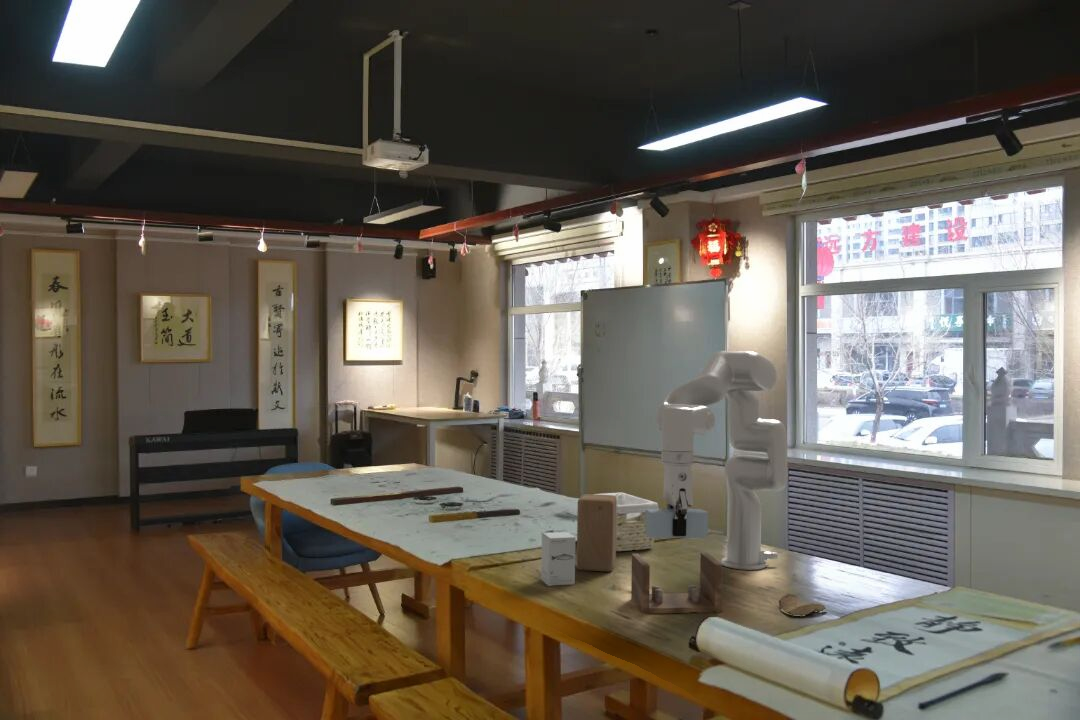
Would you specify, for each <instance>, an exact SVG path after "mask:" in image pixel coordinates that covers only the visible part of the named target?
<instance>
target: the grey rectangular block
mask: <svg viewBox="0 0 1080 720" xmlns="http://www.w3.org/2000/svg"><path fill="white" fill-rule="evenodd" d="M678 510H679V509H677V512H678ZM686 515H687V519H686V536H673V535H672V530H673V519H674V509H667V508H658V509H646V530H645V534H646V535H647V536H649V537H650V538H655V539H678V538H679V539H685V538H688V539H689V538H690V539H695V538H696V539H699V538H701V539H702V538H705V539H706V538H707V539H708V538H709V512H708V511H707V510H705V509H703V508H687V513H686Z"/></svg>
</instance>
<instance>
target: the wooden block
mask: <svg viewBox="0 0 1080 720" xmlns="http://www.w3.org/2000/svg"><path fill="white" fill-rule="evenodd" d="M595 494H596V493H595ZM595 494H591V493H590V494H589V493H585V494H582V496H580V497H579V498H578V500H577V512H576V513H577V515H576V516H577V518H576V519H577V524H576V526H577V527H576V533H577V534H576V539H577V540H576V569H578V570H579V571H590V572H606V573H609V572H612V571H613V568H614V567H615V565H616V562H617V551H616V506H617V499H616V496H614V495H595Z"/></svg>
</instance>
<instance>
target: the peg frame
mask: <svg viewBox="0 0 1080 720" xmlns="http://www.w3.org/2000/svg"><path fill="white" fill-rule="evenodd" d="M699 565H700V566H699V567H700V574H699V577H700V578H699V581H700V582H699V586H700V587H699V588H696V587H697V586H696V585H694V584H689V585H688V586H687V587H688V589H687V592H685V593H684V592H683V593H682V592H679V593H673V592H672V593H663V591H664V590H663V589H661V587H660V586H659V585H652V586H651V593H650V584H651V583H650V580H651V579H650V576H651V575H650V569H651V568H650V567H651V565H650V564H649V563H648V562H647V561H646V560H645V559H644V558H643V557H642V556H641V555H640V554H639V553H632V554H631V594H630V597H631V598H630V599H631V602H632V603H633V604H634V605H635V606H636V608H637V609H638V610H639V611H640V612H642V613H650V614H678V613H679V614H681V613H682V614H685V613H686V614H689V613H690V612H697V613H715V612H714V611H722V610H723V609H722V608H723V607H722V605H723V564H722V563H721V562H720V561H719V560H717V559H716V558H715V557H713V556H712V555H711V554H709V553H708V552H700V564H699ZM712 611H713V612H712ZM722 612H723V611H722ZM642 613H641V614H642ZM690 614H691V613H690Z"/></svg>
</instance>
